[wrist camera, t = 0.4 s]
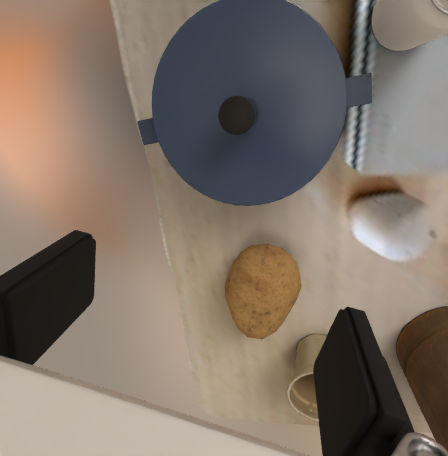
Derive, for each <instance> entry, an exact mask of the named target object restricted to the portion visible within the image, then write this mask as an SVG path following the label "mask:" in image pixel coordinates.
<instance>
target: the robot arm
mask: <svg viewBox="0 0 448 456" xmlns="http://www.w3.org/2000/svg"><path fill="white" fill-rule="evenodd" d="M95 251H96V241H95V239H93V237H92V235H91V234H88V233H85V232H81V231H78V230H75V231H73V232H71V233H69V234H68V235H66V236H65V237H63V238H61V239H60V240H58V241H56V242H55V243H53V244H52V245H50V246H48V247H47V248H45V249H43V250H42V251H40V252H39V253H37V254H35V255H34V256H32V257H30V258H29V259H27V260H25V261H24V262H22V263H21V264H19V265H17V266H16V267H14V268H12V269H11V270H9V271H8V272H6V273H4V274H3V275H1V276H0V456H308V455H306V454H303V453H300V452H297V451H294V450H291V449H289V448H286V447H283V446H280V445H277V444H274V443H271V442H268V441H265V440H262V439H259V438H256V437H253V436H250V435H247V434H244V433H241V432H238V431H235V430H232V429H228V428H226V427H223V426H219V425H217V424H213V423H210V422H207V421H204V420H201V419H198V418H195V417H192V416H189V415H186V414H183V413H180V412H177V411H173V410H171V409H168V408H164V407H162V406H158V405H155V404H152V403H149V402H146V401H143V400H140V399H137V398H133V397H131V396H127V395H124V394H121V393H118V392H115V391H112V390H109V389H106V388H103V387H100V386H96V385H93V384H90V383H87V382H83V381H81V380H78V379H74V378H71V377H68V376H64V375H62V374H59V373H55V372H52V371H49V370H46V369H43V368H39V367H36V366H34V365H33V364H34V363H35V362H36V361H37V360H38V359H39V358H40V357H41V356H42V355H43V354H44V353H45V352H46V351H47V349H48V348H49V347H50V346H51V345H52V344H53V343H54V342H55V341H56V340H57V339H58V338H59V337H60V336H61V335H62V334H63V333H64V331H65V330H66V329H67V328H68V327H69V326H70V325H71V324H72V323H73V322H74V321H75V320H76V319H77V318H78V317H79V316H80V315H81V314H82V313H83V312H84V311H85V309H86V308H87V307H88V306H89V305H90V304H91V302H92V300H93V298H94V282H95ZM313 375H314V384H315V392H316V401H317V410H318V418H319V427H320V436H321V444H322V453H323V456H448V451H447V450H446V449H445V448H444V447H443V446H442V445H441V444H439V443H438V442H436V441H435V440H434V439H432V438H430V437H428V436H426V435H424V434H421V433H416V432H415V431H414V429H413V426H412V424H411V422H410V419H409V417H408V414H407V412H406V409H405V407H404V404H403V402H402V399H401V397H400V394H399V392H398V389H397V387H396V384H395V382H394V379H393V377H392V374H391V372H390V369H389V367H388V364H387V362H386V360H385V358H384V357H383V356H382V354H381V351H380V349H379V346H378V344H377V341H376V339H375V336H374V334H373V331H372V329H371V326H370V324H369V321H368V319H367V316H366V314H365V312H364V311H361V310H358V309H354V308H351V307H346V308H345V309H344V310H343V309H340V310H339V312H338V314H337V316H336V318H335V320H334V322H333V324H332V326H331V328H330V331H329V333H328V335H327V337H326V339H325V341H324V343H323V345H322V347H321V350H320V352H319V354H318V356H317V358H316V360H315V363H314V367H313Z"/></svg>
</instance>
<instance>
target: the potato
mask: <svg viewBox="0 0 448 456" xmlns="http://www.w3.org/2000/svg"><path fill="white" fill-rule="evenodd" d="M300 289H301V279H300V273H299V269H298V266H297V263H296V261H295V260H294V259H293V258H292V257H291V256H290V255H289V254H288V253H287V252H286V251H285V250H284V249H283V248H280V247H276V246H273V245H269V244H263V245H251V246H250V247H248V248H247V249H245V250H244V251H242V252H241V253H240V254H239V256H238V257H237V259H236V260H235V262H234V263H233V266H232V268H231V270H230V273H229V275H228V277H227V280H226V284H225V299H226V301H227V304H228V307H229V310H230V313H231V316H232V319H233V321H234V322H235V324H236V326H237V328H238V329H239V330H240V331H241V332H242V333H243V334H245V335H246V336H247V337H250V338H257V339H264V338H265V337H267V336H269V335H271V334H272V333H274V332H276V331H277V329H278V328H279V327H280V326H281V324H282V323H283V322H284V320H285V319H286V317H287V315H288V314H289V312H290V310H291V308H292V307H293V305H294V303H295V301H296V299H297V297H298V294H299V291H300Z"/></svg>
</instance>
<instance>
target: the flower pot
mask: <svg viewBox="0 0 448 456" xmlns="http://www.w3.org/2000/svg"><path fill="white" fill-rule="evenodd" d="M326 337H327V336H324V335H319V334H314V335H309V336H307V337H306V338H304V339H303V340H301V341H300V342H299V344H298V346H297V354H296V362H295V368H294V375H293V377H292V379H291V382H290V384H289V386H288V389H287V397H288V401H289V403H290V405H291V406H292V407H293V408H294V409H295V410H296V411H297V412H298V413H299V414H301V415H303V416H304V417H306V418H309V419H312V420H315V421H319V418H318V410H317V401H316V392H315V384H314V375H313V367H314V363H315V360H316V358H317V356H318V354H319V352H320V350H321V347H322V345H323V343H324V341H325V339H326Z"/></svg>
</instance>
